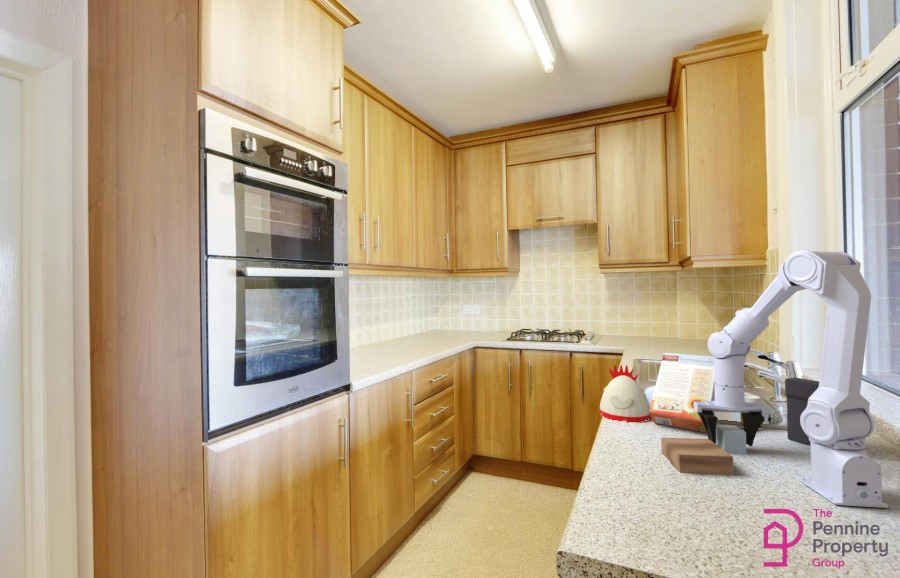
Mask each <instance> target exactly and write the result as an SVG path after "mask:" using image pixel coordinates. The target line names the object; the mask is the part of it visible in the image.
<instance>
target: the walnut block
mask: <svg viewBox="0 0 900 578" xmlns="http://www.w3.org/2000/svg"><path fill="white" fill-rule="evenodd" d="M660 441H661V445H660V446H661V455H662V454H663V455H664V456H665V457H666V458H667V459H668V460H669V461H670V462H669V461H668V460H667V459H666V458H665V457H664V456H663V455H662V456H663V457H664V458H665V459H666V460H667V461H668V462H669V463H670V464H671V465H672V466H673V467H674V469H676V471H677V472H678V471H679V472H680V473H679V472H678V473H679V474H695V473H696V474H699V475H720V476H721V475H723V476H724V475H725V476H733V475H734V456H732V454H728V453H727V452H726V451H724V450H723V449H722V448H720V447H719V446H718V445H716V444H715V443H713V442H712V441H711V440H709V439H708V438H688V437H687V438H685V437H678V438H677V437H661V439H660Z"/></svg>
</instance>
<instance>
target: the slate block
mask: <svg viewBox="0 0 900 578" xmlns="http://www.w3.org/2000/svg"><path fill="white" fill-rule="evenodd" d="M716 445H718V446H719V447H720V448H722V449H723V450H724V451H726V452H727V453H728V454H730V455H747V444H746V432H745V431H744V429H741V428H740V427H738V426H737V425H722V424H720V425H719V424H716Z"/></svg>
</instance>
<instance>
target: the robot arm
mask: <svg viewBox="0 0 900 578" xmlns="http://www.w3.org/2000/svg"><path fill="white" fill-rule="evenodd" d="M861 266H862V265H861V262H860V261H859V260H858V259H856V258H854V257H852V255H850V254H848V253H847V252H844V251H841V250H832V251H823V250H822V251H815V250H813V251H811V250H806V249H805V250H803V249H802V250H798V251H795V252H793V253H791V254H790V255H789V256H788V257H787V259H786V261H785V262H783V263H782V264H781V265H780V266H779V267H778V272H777V275H776V277H774V279H773V280H772V281H771V283H770V284H769V285H768V287H767V288H766V289H765V290H764V292H762V294H761V295H760V296H759V298H758V299H757V300H756V301H755V303H754V304H753V306H751V307H743V308H742V309H738V310H736V312H735V313H734V314H735V316H734V318H733V319H732V320H730V322H728V323H727V325H724V327H723V328H722V330H721V331H719V332H718V331H716V332H713V333H711V334H710V336H709V338H708V339H707V349H708V351H709V353H710V354H711V356H712V357H714V383H715V401H704V402H694V410H695V411H697V413H698V415H699V416H700V418H701V420H702V422H703V424H704V427H705V430H706V432H705V433H706V436H707V439H709V440H711V441H712V442H713V443H715V444H716V425H718V419H719V418H718V416H716V415H715V413H734V414H735V413H741V414H742V419H743V425H744V428H743V431H745V432H746V446H749V447H753V445H754V442H755V439H756V435H757V433H758V431H759V430H758V429H759V427H760V426H761V424H762V423H763V424H764V422H765V416H764V415H767V413H768V407H767V405H765V404H764V403H747V402H745V398H744V395H745V363H746V360H747V359H746V358H747V356H748V355H749V354H750V351H751V344H752V343H753V342H754V341H755V340H756V339H757V338H758V336H760V335H761V334H762V333H763V332H764V331H765V330H766V328H768V327H769V325H770V322H769V317H770V316H771V315H772V314H773V313H774V312H776V311H777V310H778V309H779V308H780V307H781V306H783V304H784V303H786V302H787V300H789V299H790V298H791V297H793V296H794V295H795V294H796V293H797V292H801V291H803V290H804V291H805V290H809V291H811V292H814V294H815V295H818V296H819V297H820V299H823V301H825V302H826V304H827V306H826V316H825V326H824V334H823V345H822V354H821V361H820V362H821V363H820V371H819V372H820V373H819V387H818V389H817V390H816V391H815V392H814V393H813V394H812V395H811V396H810V397H809V399H808V404H807V408H806V409H805V410H804V411H803V413H802V414H801V417H800V423H801V427H802V429H803V431H804V432H805V434H806V435H807V436H808V437H809V441H811V446H810V478H809V477H799V479H798V480H799V481H800V482H801V483H803V484H804V485H806V486H807V487H808V488H810V489H812V490H813V491H815V492H817V494H818V495H821V496H822V497H824V498H825V499H826V500H827V501H829V502H830V503H832V504H834V505H837V506H848V507H851V506H852V507H867V508H885V509H888V508H889V505H888V504H887V503H886V502H884V501H883V486H882V484H883V482H882V481H883V479H882V478H883V477H882V470H881V469H882V468H881V467H880V464H878V462H877V461H875V460H874V459H873V458H871V457H870V455H869V454H868V453H867V452H866V448H865V447H866V446H865V445H866V438H868V437H870V436H871V435H872V433H873V432H874V429H875V422H874V420H873V417H872V415H871V413H870V412H871V411H870V405H871V403H870V402H869V400H867V399H866V398H865V397H864V396H863V395H862V394H861V389H862V387H861V386H862V379H863V371H864V370H863V369H864V362H865V361H864V360H865V353H866V345H867V336H868V329H869V328H868V327H869V320H870V319H869V318H870V310H871V301H872V293H871V291H870V288H869V287H868V285H867V282H866V281H865V278H864V277H863V275H862V273H861ZM713 412H715V413H713ZM761 414H762V415H761Z"/></svg>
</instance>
